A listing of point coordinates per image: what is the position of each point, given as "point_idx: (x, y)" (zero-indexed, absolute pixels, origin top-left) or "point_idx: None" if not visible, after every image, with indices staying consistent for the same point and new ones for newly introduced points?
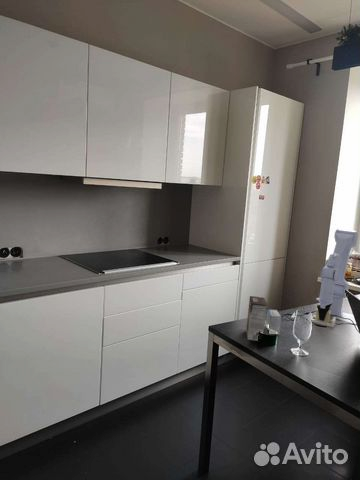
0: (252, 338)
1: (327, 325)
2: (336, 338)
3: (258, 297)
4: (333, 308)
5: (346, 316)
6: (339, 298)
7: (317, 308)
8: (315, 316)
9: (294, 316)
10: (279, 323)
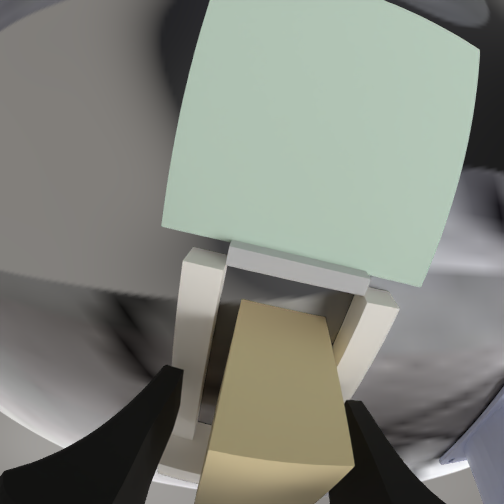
0: None
1: None
2: (9, 377)
3: None
4: (491, 461)
5: (443, 471)
6: None
7: (19, 468)
8: (356, 326)
9: (280, 4)
10: None
